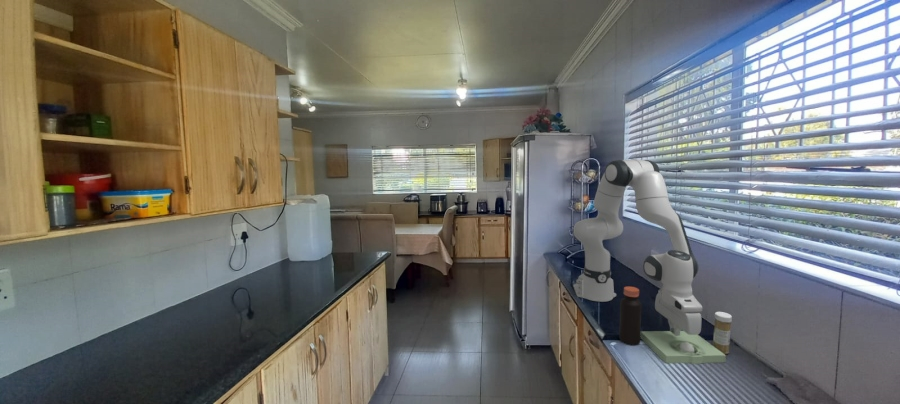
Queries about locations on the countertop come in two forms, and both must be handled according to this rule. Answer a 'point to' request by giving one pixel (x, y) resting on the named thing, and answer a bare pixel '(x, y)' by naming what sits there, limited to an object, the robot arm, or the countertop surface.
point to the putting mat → (669, 351)
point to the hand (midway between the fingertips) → (674, 333)
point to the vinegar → (630, 317)
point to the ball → (686, 347)
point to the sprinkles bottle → (722, 331)
